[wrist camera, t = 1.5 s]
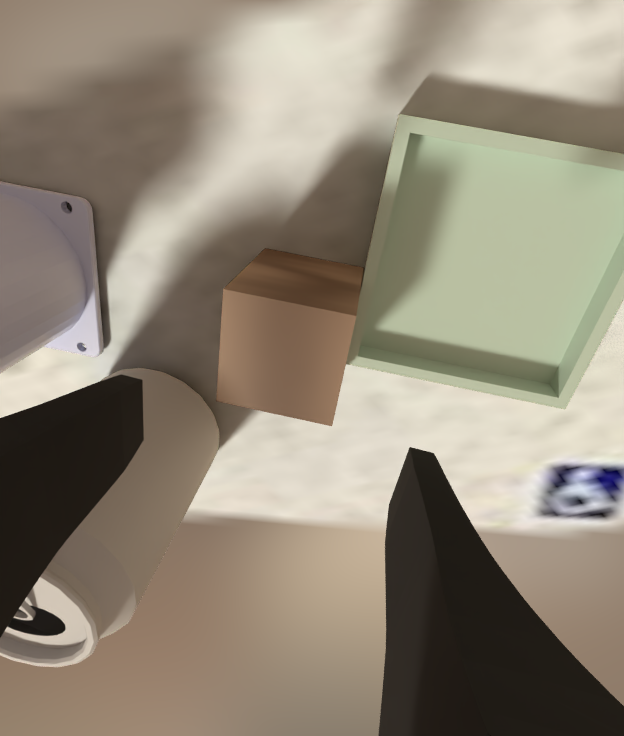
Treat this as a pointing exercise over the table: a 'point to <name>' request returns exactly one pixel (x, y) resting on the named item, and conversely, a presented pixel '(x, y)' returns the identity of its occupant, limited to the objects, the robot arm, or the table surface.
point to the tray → (491, 261)
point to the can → (119, 532)
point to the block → (287, 335)
